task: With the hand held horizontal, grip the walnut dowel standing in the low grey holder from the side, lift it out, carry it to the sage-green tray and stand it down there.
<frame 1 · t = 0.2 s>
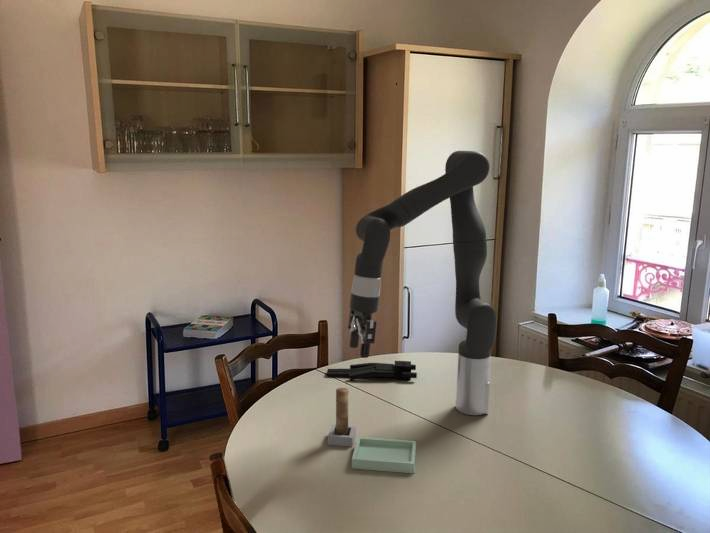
hand: (358, 352, 158), 22 cm above the table, tool pointing down, fingers open, 8 cm apart
dowel: (342, 415, 156), in the holder
tray: (384, 458, 148), on the table
holder: (342, 439, 157), on the table
toy: (371, 378, 200), on the table
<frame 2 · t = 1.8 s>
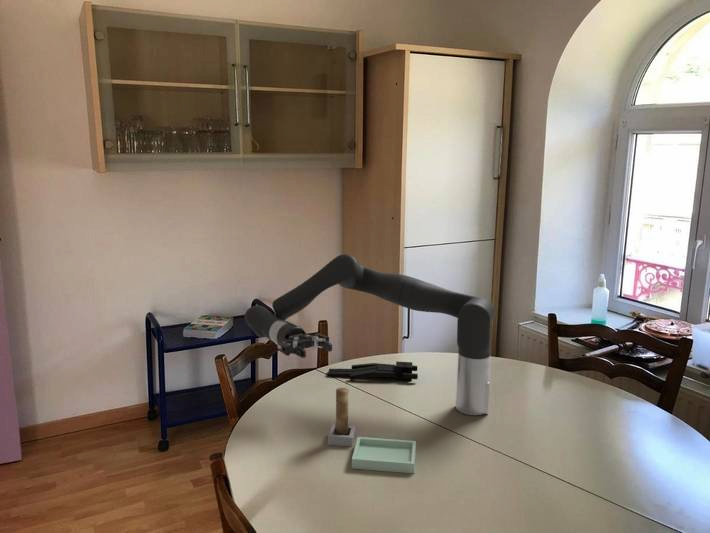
hand: (318, 351, 161), 21 cm above the table, tool horizontal, fingers open, 8 cm apart
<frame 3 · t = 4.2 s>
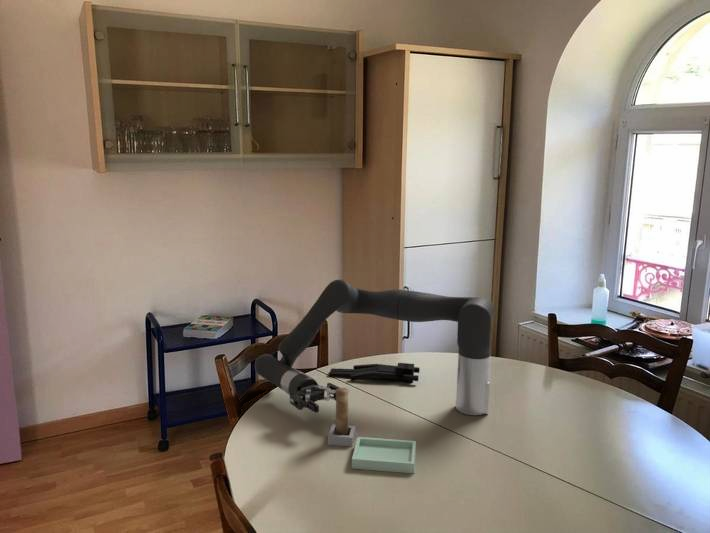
hand: (331, 405, 160), 8 cm above the table, tool horizontal, fingers open, 8 cm apart
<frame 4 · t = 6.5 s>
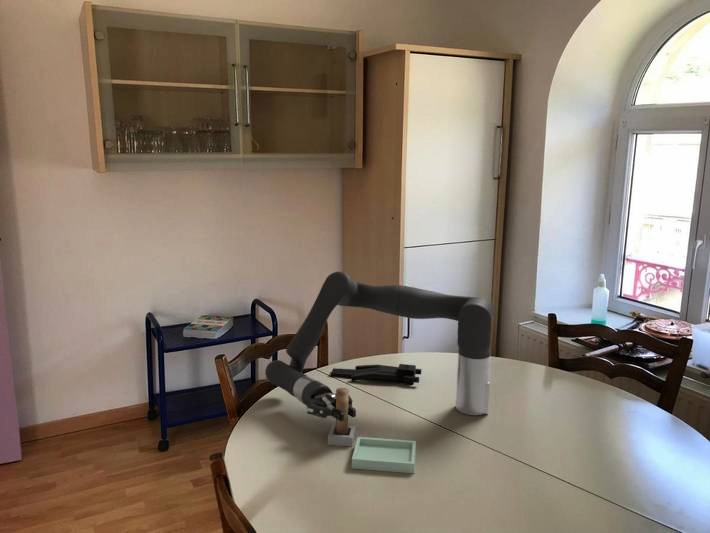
hand: (348, 415, 153), 8 cm above the table, tool horizontal, fingers closed on dowel, 3 cm apart
dowel: (342, 415, 156), in the holder, touching gripper
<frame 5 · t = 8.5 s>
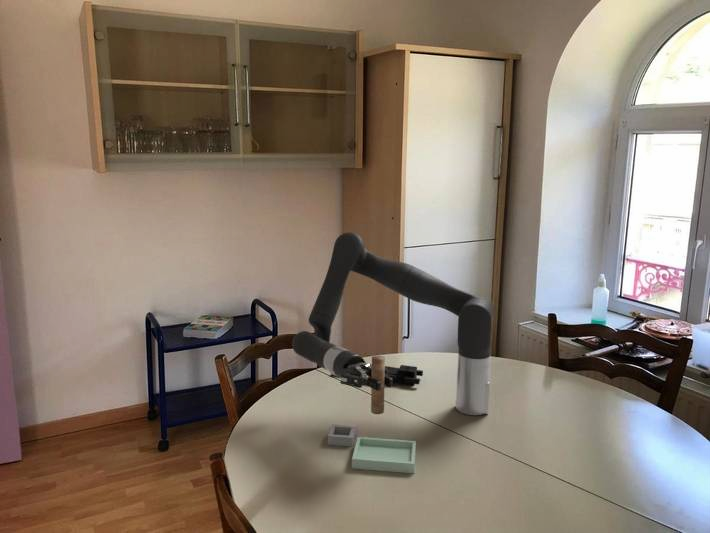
hand: (385, 384, 143), 20 cm above the table, tool horizontal, fingers closed on dowel, 3 cm apart
dowel: (377, 384, 146), point 19 cm above the table, touching gripper
when the fingers open (10 cm above the table, at t = 10.8 s): dowel drops 1 cm, resting on tray.
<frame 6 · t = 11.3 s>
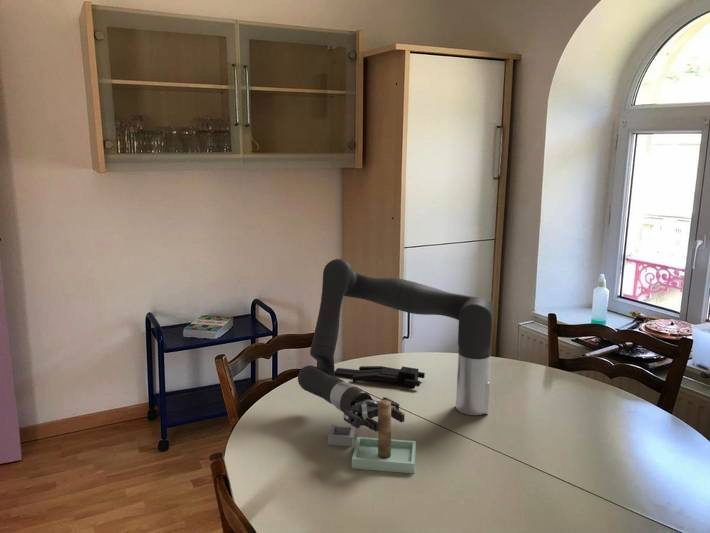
hand: (390, 423, 144), 10 cm above the table, tool horizontal, fingers open, 7 cm apart
dowel: (384, 429, 146), in the tray, point 8 cm above the table
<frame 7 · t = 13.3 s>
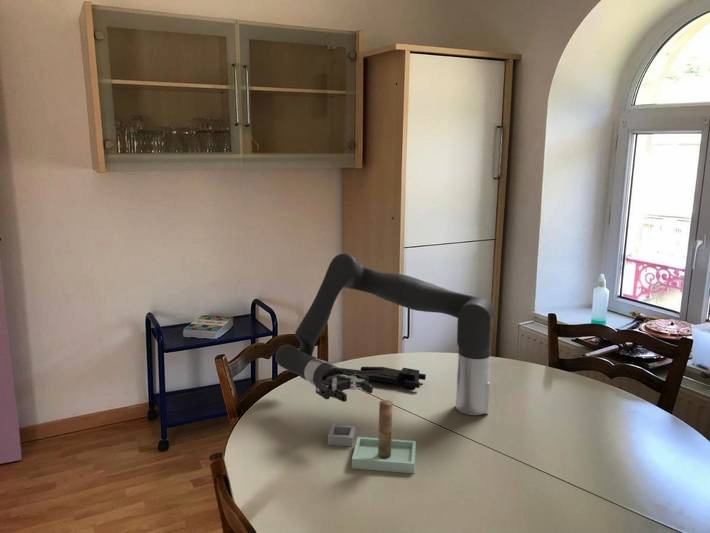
hand: (358, 393, 154), 13 cm above the table, tool horizontal, fingers open, 8 cm apart
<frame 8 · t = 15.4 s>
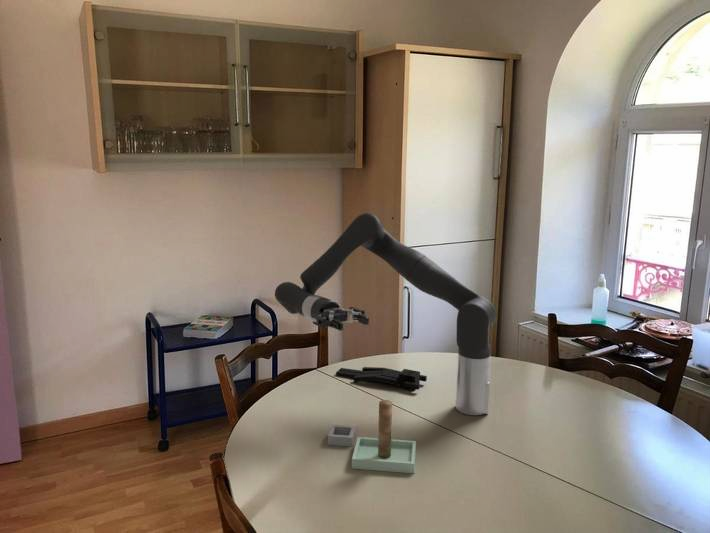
hand: (355, 323, 157), 30 cm above the table, tool horizontal, fingers open, 8 cm apart
at the end: dowel inside the target area on the tray (0.1 cm from its centre), point 8.0 cm above the tray's base; dowel tilted 0°; the gripper is holding nothing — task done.
